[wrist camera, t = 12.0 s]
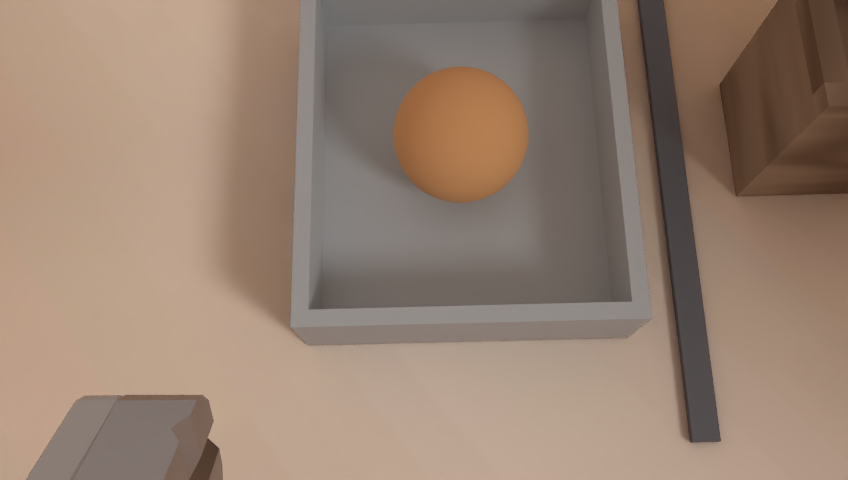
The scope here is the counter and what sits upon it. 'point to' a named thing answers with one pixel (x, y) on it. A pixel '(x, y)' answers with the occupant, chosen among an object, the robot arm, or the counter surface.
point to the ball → (461, 134)
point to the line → (678, 227)
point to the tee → (791, 102)
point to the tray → (471, 221)
